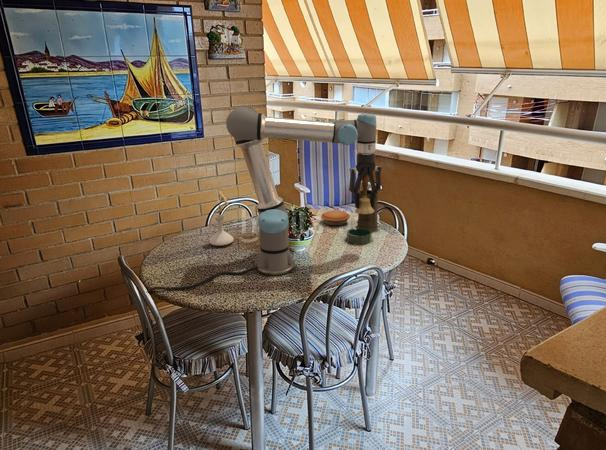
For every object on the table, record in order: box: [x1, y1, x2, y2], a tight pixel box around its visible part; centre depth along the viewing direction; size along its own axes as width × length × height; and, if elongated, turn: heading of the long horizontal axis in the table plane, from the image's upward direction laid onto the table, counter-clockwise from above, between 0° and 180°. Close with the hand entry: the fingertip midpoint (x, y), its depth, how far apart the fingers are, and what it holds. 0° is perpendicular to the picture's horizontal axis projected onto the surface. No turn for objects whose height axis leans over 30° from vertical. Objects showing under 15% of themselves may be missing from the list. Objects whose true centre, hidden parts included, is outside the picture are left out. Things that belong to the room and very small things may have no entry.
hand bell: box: [354, 175, 374, 214], centre depth 173 cm, size 8×8×16 cm
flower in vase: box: [209, 190, 235, 247], centre depth 191 cm, size 13×11×25 cm
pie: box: [320, 210, 351, 226], centre depth 219 cm, size 16×16×5 cm
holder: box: [346, 227, 373, 245], centre depth 195 cm, size 12×12×4 cm
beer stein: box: [356, 189, 379, 233], centre depth 209 cm, size 15×11×20 cm
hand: (364, 206), depth 175 cm, fingers closed on hand bell, 6 cm apart
